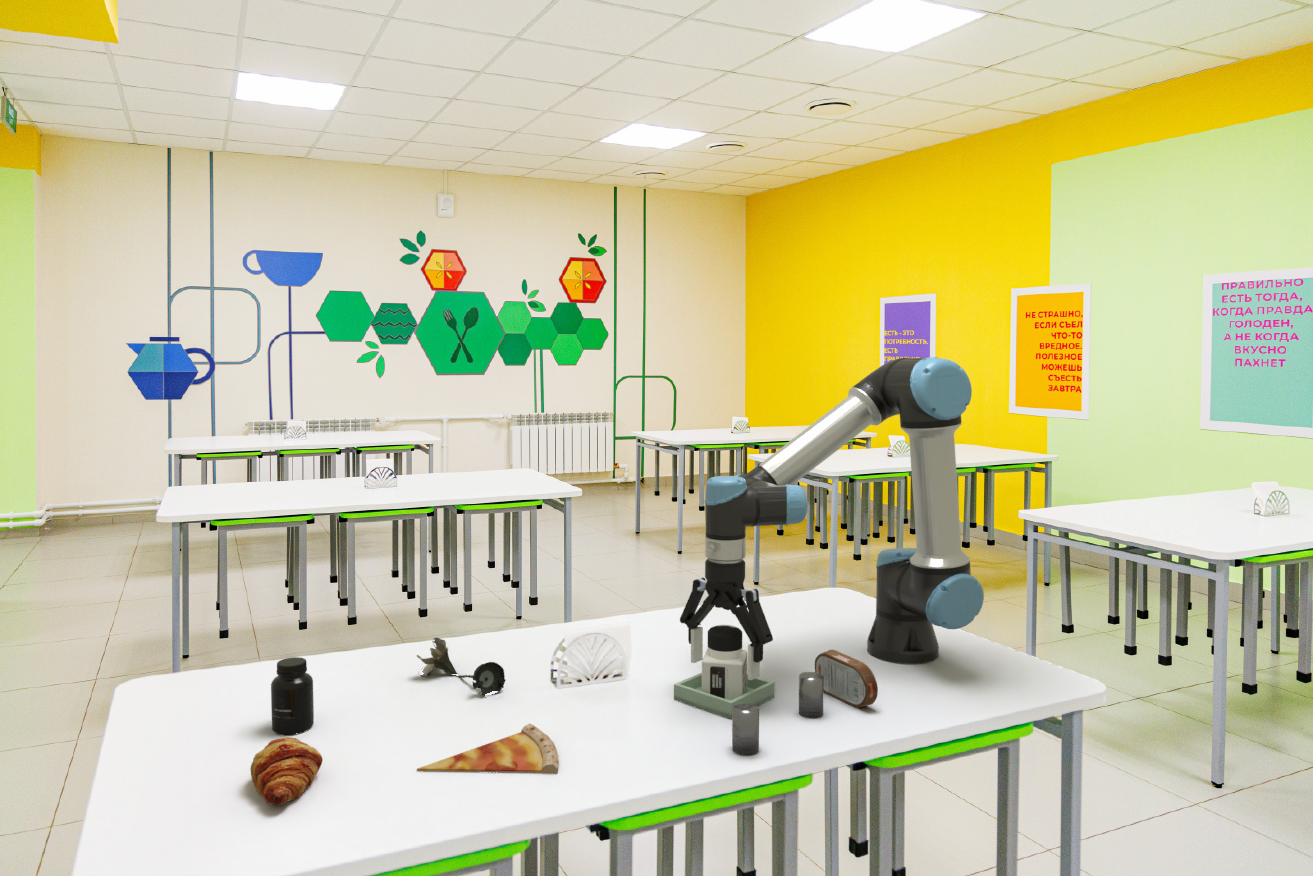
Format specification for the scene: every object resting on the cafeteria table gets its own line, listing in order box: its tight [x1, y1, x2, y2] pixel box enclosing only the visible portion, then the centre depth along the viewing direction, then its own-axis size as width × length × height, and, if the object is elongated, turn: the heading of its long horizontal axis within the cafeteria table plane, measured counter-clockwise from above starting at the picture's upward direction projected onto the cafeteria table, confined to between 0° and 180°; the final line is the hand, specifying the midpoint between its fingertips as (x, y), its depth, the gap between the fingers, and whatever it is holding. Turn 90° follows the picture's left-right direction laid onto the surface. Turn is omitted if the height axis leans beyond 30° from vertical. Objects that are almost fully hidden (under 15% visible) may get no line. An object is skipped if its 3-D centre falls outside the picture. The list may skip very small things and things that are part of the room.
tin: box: [814, 649, 879, 709], centre depth 167 cm, size 15×3×8 cm, turn 31°
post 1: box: [731, 704, 760, 757], centre depth 145 cm, size 4×4×7 cm
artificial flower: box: [416, 637, 506, 697], centre depth 176 cm, size 9×22×10 cm, turn 43°
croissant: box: [250, 736, 324, 806], centre depth 135 cm, size 21×10×8 cm, turn 20°
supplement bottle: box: [270, 656, 315, 736], centre depth 154 cm, size 7×7×12 cm
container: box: [701, 624, 748, 701], centre depth 167 cm, size 8×8×13 cm
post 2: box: [798, 671, 825, 720], centre depth 160 cm, size 4×4×7 cm
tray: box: [673, 672, 775, 720], centre depth 167 cm, size 14×14×3 cm
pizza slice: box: [416, 723, 560, 775], centre depth 146 cm, size 16×22×2 cm
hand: (724, 669), depth 167 cm, fingers open, 13 cm apart
